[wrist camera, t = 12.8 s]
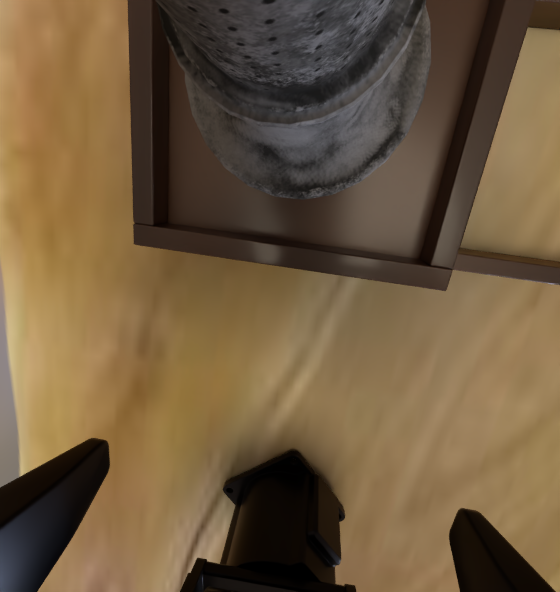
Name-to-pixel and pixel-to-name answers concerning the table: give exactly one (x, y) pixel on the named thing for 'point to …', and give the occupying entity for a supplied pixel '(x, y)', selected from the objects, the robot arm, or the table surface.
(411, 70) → the grey rounded piece
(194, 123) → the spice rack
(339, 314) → the table surface
